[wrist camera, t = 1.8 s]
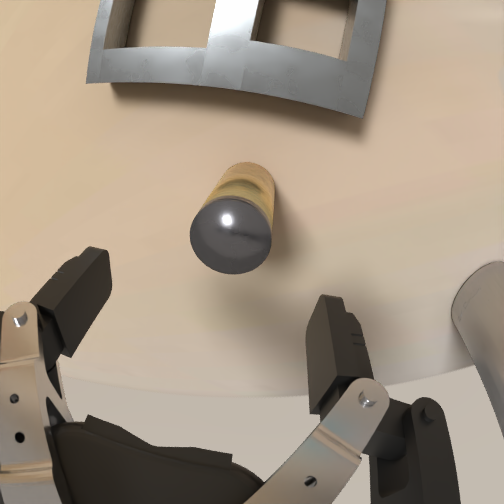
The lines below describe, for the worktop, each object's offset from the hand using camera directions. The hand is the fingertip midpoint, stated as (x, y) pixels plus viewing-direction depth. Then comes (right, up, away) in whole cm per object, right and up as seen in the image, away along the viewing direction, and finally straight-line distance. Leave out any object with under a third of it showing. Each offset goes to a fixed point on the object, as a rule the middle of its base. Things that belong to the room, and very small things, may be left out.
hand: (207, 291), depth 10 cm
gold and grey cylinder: (+1, +6, +11) cm, 12 cm away
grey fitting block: (+1, +18, +4) cm, 18 cm away
